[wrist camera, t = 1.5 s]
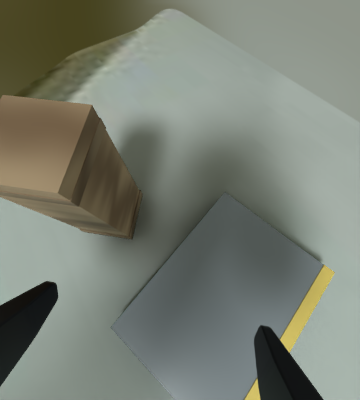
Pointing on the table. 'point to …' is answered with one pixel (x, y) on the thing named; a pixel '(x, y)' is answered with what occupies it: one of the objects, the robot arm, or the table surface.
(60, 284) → the table surface
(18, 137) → the brown block
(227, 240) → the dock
